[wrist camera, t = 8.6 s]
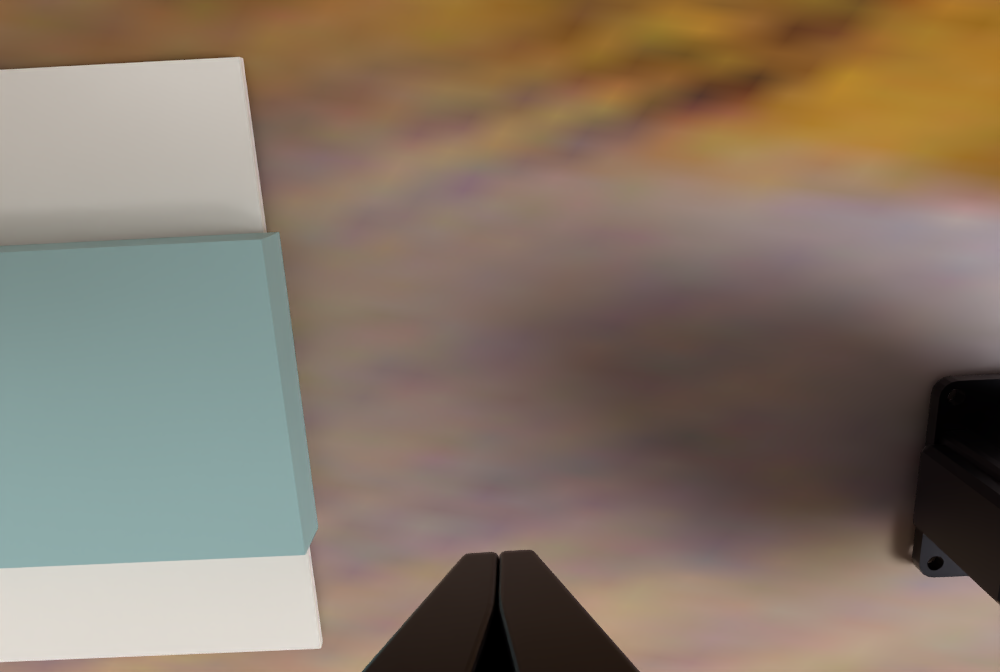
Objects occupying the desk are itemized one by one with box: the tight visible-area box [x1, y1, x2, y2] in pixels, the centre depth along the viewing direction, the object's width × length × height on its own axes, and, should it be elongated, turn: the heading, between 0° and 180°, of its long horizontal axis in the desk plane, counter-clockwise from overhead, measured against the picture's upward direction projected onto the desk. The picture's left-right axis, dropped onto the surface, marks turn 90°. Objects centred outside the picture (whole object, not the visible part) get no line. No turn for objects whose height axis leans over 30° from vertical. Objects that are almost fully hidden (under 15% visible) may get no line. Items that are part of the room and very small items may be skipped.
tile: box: [0, 232, 318, 568], centre depth 20 cm, size 2×9×12 cm
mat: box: [0, 57, 323, 662], centre depth 21 cm, size 14×18×1 cm
